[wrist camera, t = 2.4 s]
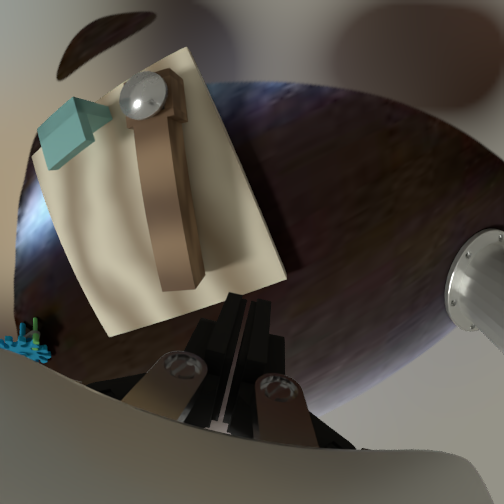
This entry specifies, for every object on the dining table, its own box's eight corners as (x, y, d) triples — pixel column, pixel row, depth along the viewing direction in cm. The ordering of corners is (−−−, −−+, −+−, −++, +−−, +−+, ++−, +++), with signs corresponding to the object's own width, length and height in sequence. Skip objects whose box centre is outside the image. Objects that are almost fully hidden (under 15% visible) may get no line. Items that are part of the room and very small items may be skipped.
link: (141, 91, 22) (123, 82, 19) (183, 79, 22) (169, 67, 19) (170, 278, 27) (156, 292, 24) (212, 274, 27) (202, 289, 23)
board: (190, 52, 23) (186, 46, 21) (286, 273, 28) (286, 279, 27) (39, 156, 27) (31, 156, 26) (114, 331, 32) (109, 337, 31)
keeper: (108, 106, 24) (72, 96, 18) (121, 143, 24) (85, 140, 19) (74, 132, 24) (37, 129, 19) (85, 168, 25) (48, 170, 20)
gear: (33, 372, 36) (-13, 356, 27) (32, 342, 39) (-12, 323, 31) (66, 355, 35) (13, 335, 26) (63, 321, 38) (15, 298, 30)
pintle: (177, 79, 22) (155, 62, 18) (192, 114, 23) (172, 102, 18) (141, 100, 23) (113, 88, 18) (154, 134, 24) (127, 128, 19)
